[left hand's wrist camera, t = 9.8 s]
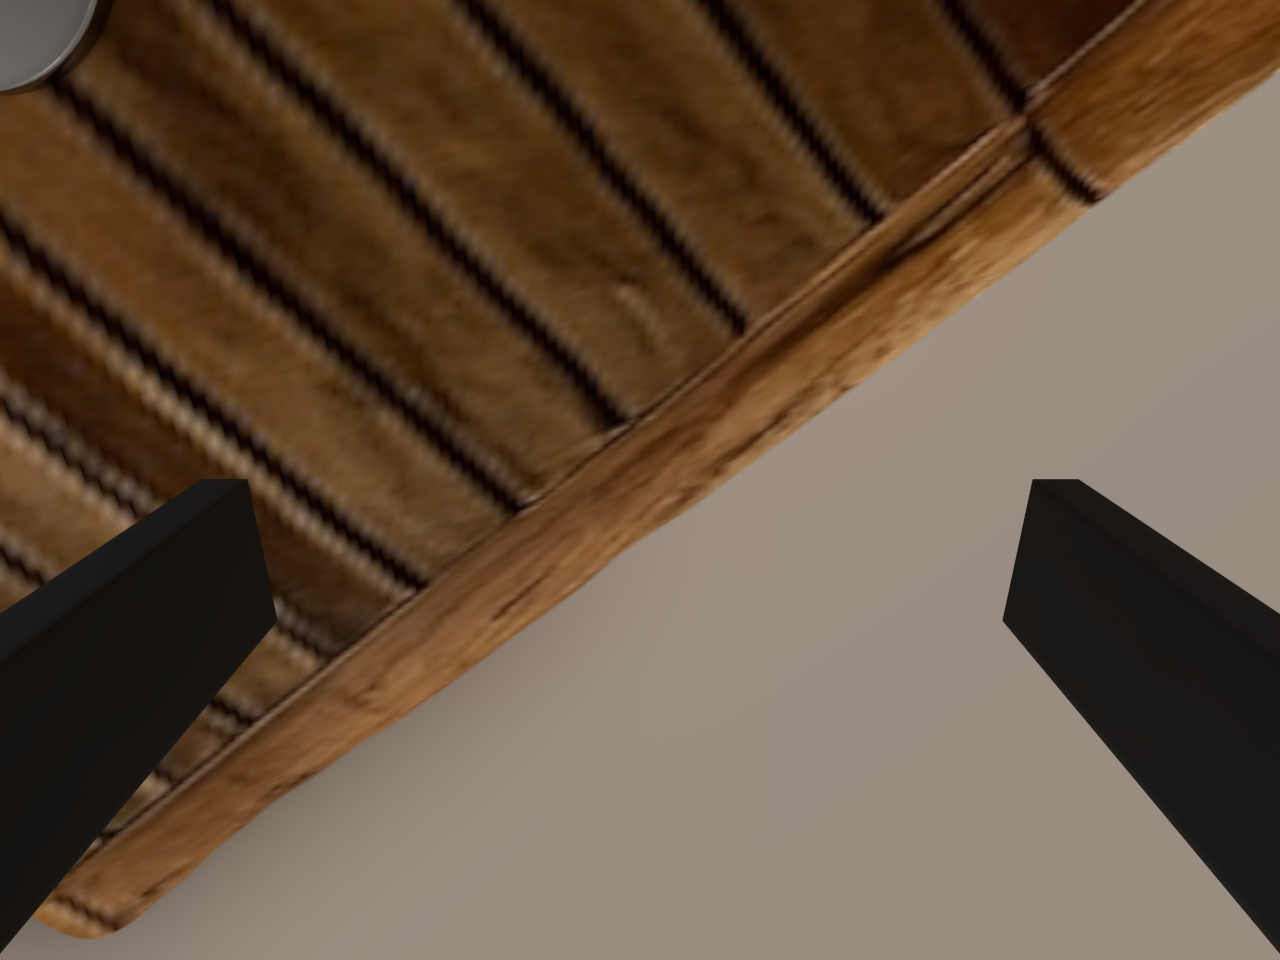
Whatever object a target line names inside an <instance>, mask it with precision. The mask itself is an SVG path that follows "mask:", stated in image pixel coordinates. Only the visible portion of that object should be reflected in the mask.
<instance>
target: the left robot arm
mask: <svg viewBox="0 0 1280 960" xmlns="http://www.w3.org/2000/svg"><path fill="white" fill-rule="evenodd" d="M112 3H113V0H0V96H4V95H16V94H22V93H28V92H31V91H34V90H38V89H41V88H43V87H45V86H48V85H50V84H52V83H54V82H56V81H58V80H59V79H61V78H62V77H64V76H66V75H67V74H68V73H69V72H71V71H72V70H73V69H74V68H75V67H77V66H78V65H79V64H80V63H81V61H82V60H83V59H84V58H85V57H86V56H87V55H88V54H89V52H90V51H91V49H92V48H93V47H94V45H95V44H96V42H97V40H98V38H99V37H100V35H101V33H102V31H103V29H104V26H105V24H106V22H107V19H108V17H109V14H110V10H111V7H112ZM276 622H277V616H276V611H275V607H274V602H273V597H272V593H271V588H270V583H269V579H268V574H267V569H266V565H265V560H264V555H263V551H262V546H261V541H260V537H259V532H258V527H257V522H256V518H255V513H254V508H253V504H252V499H251V494H250V490H249V485H248V480H247V479H201V480H200V481H198V482H197V483H195V484H194V485H192V486H191V487H189V488H188V489H186V490H185V491H183V492H182V493H180V494H179V495H177V496H176V497H174V498H173V499H171V500H170V501H168V502H167V503H165V504H164V505H162V506H161V507H159V508H158V509H156V510H155V511H153V512H152V513H150V514H149V515H147V516H146V517H144V518H143V519H141V520H140V521H138V522H137V523H135V524H134V525H132V526H131V527H129V528H128V529H126V530H125V531H123V532H122V533H120V534H119V535H118V536H116V537H115V538H113V539H112V540H110V541H109V542H107V543H106V544H104V545H103V546H101V547H100V548H98V549H97V550H95V551H94V552H92V553H91V554H89V555H88V556H86V557H85V558H83V559H82V560H80V561H79V562H77V563H76V564H74V565H73V566H71V567H70V568H68V569H67V570H65V571H64V572H62V573H61V574H59V575H58V576H56V577H55V578H53V579H52V580H50V581H49V582H47V583H46V584H44V585H43V586H41V587H40V588H38V589H37V590H35V591H34V592H32V593H31V594H29V595H28V596H26V597H25V598H23V599H22V600H20V601H19V602H17V603H16V604H14V605H13V606H11V607H10V608H8V609H7V610H5V611H4V612H2V613H1V614H0V953H1V952H2V951H3V950H4V948H5V947H6V946H7V945H8V944H9V942H10V941H11V940H12V939H13V938H14V936H15V935H16V934H17V933H18V931H19V930H20V929H21V928H22V927H23V925H24V924H25V923H26V922H27V921H28V920H29V918H30V917H31V916H32V915H33V914H34V912H35V911H36V910H37V909H38V908H39V906H40V905H41V904H42V903H43V902H44V900H45V899H46V898H47V897H48V896H49V894H50V893H51V892H52V891H53V890H54V888H55V887H56V886H57V885H58V884H59V882H60V881H61V880H62V879H63V878H64V876H65V875H66V874H67V873H68V872H69V870H70V869H71V868H72V867H73V866H74V864H75V863H76V862H77V861H78V860H79V858H80V857H81V856H82V855H83V854H84V852H85V851H86V850H87V849H88V848H89V846H90V845H91V844H92V843H93V842H94V840H95V839H96V838H97V837H98V836H99V834H100V833H101V832H102V831H103V830H104V828H105V827H106V826H107V825H108V824H109V822H110V821H111V820H112V819H113V818H114V816H115V815H116V814H117V813H118V812H119V810H120V809H121V808H122V807H123V806H124V804H125V803H126V802H127V801H128V800H129V798H130V797H131V796H132V795H133V794H134V792H135V791H136V790H137V789H138V788H139V786H140V785H141V784H142V783H143V782H144V780H145V779H146V778H147V777H148V776H149V774H150V773H151V772H152V771H153V770H154V768H155V767H156V766H157V765H158V764H159V762H160V761H161V760H162V759H163V758H164V756H165V755H166V754H167V753H168V752H169V750H170V749H171V748H172V747H173V746H174V744H175V743H176V742H177V741H178V740H179V738H180V737H181V736H182V735H183V734H184V732H185V731H186V730H187V729H188V728H189V726H190V725H191V724H192V723H193V722H194V720H195V719H196V718H197V717H198V716H199V714H200V713H201V712H202V711H203V710H204V708H205V707H206V706H207V705H208V704H209V702H210V701H211V700H212V699H213V698H214V696H215V695H216V694H217V693H218V692H219V690H220V689H221V688H222V687H223V686H224V684H225V683H226V682H227V681H228V680H229V678H230V677H231V676H232V675H233V674H234V672H235V671H236V670H237V669H238V668H239V666H240V665H241V664H242V663H243V662H244V660H245V659H246V658H247V657H248V656H249V654H250V653H251V652H252V651H253V650H254V648H255V647H256V646H257V645H258V644H259V642H260V641H261V640H262V639H263V638H264V636H265V635H266V634H267V633H268V632H269V630H270V629H271V628H272V627H273V626H274V624H275V623H276ZM1003 622H1004V623H1005V624H1006V625H1007V627H1008V628H1009V629H1010V630H1011V632H1012V633H1013V634H1014V635H1015V636H1016V638H1017V639H1018V640H1019V641H1020V642H1021V644H1022V645H1023V646H1024V647H1025V648H1026V650H1027V651H1028V652H1029V653H1030V654H1031V655H1032V657H1033V658H1034V659H1035V660H1036V662H1037V663H1038V664H1039V665H1040V666H1041V668H1042V669H1043V670H1044V671H1045V672H1046V674H1047V675H1048V676H1049V677H1050V678H1051V680H1052V681H1053V682H1054V683H1055V684H1056V686H1057V687H1058V688H1059V689H1060V690H1061V691H1062V693H1063V694H1064V695H1065V696H1066V698H1067V699H1068V700H1069V701H1070V702H1071V704H1072V705H1073V706H1074V707H1075V708H1076V710H1077V711H1078V712H1079V713H1080V714H1081V716H1082V717H1083V718H1084V719H1085V720H1086V722H1087V723H1088V724H1089V725H1090V726H1091V728H1092V729H1093V730H1094V731H1095V732H1096V734H1097V735H1098V736H1099V737H1100V738H1101V740H1102V741H1103V742H1104V743H1105V744H1106V746H1107V747H1108V748H1109V749H1110V750H1111V752H1112V753H1113V754H1114V755H1115V756H1116V758H1117V759H1118V760H1119V761H1120V762H1121V764H1122V765H1123V766H1124V767H1125V768H1126V770H1127V771H1128V772H1129V773H1130V774H1131V776H1132V777H1133V778H1134V779H1135V780H1136V782H1137V783H1138V784H1139V785H1140V786H1141V788H1142V789H1143V790H1144V791H1145V792H1146V794H1147V795H1148V796H1149V797H1150V798H1151V799H1152V801H1153V802H1154V803H1155V804H1156V806H1157V807H1158V808H1159V809H1160V810H1161V812H1162V813H1163V814H1164V815H1165V816H1166V818H1167V819H1168V820H1169V821H1170V822H1171V824H1172V825H1173V826H1174V827H1175V828H1176V830H1177V831H1178V832H1179V833H1180V834H1181V836H1182V837H1183V838H1184V839H1185V840H1186V842H1187V843H1188V844H1189V845H1190V846H1191V848H1192V849H1193V850H1194V851H1195V852H1196V854H1197V855H1198V856H1199V857H1200V858H1201V860H1202V861H1203V862H1204V863H1205V864H1206V866H1207V867H1208V868H1209V869H1210V870H1211V872H1212V873H1213V874H1214V875H1215V876H1216V878H1217V879H1218V880H1219V881H1220V882H1221V884H1222V885H1223V886H1224V887H1225V888H1226V890H1227V891H1228V892H1229V893H1230V894H1231V896H1232V897H1233V898H1234V899H1235V900H1236V902H1237V903H1238V904H1239V905H1240V906H1241V908H1242V909H1243V910H1244V911H1245V912H1246V914H1247V915H1248V916H1249V917H1250V918H1251V920H1252V921H1253V922H1254V923H1255V924H1256V925H1257V927H1258V928H1259V929H1260V930H1261V932H1262V933H1263V934H1264V935H1265V936H1266V938H1267V939H1268V940H1269V941H1270V942H1271V944H1272V945H1273V946H1274V947H1275V948H1276V950H1277V951H1278V952H1279V953H1280V614H1279V613H1278V612H1276V611H1275V610H1273V609H1272V608H1270V607H1269V606H1267V605H1266V604H1264V603H1263V602H1261V601H1260V600H1258V599H1257V598H1255V597H1254V596H1252V595H1251V594H1249V593H1248V592H1246V591H1245V590H1243V589H1242V588H1240V587H1239V586H1237V585H1236V584H1234V583H1233V582H1231V581H1230V580H1228V579H1227V578H1225V577H1224V576H1222V575H1221V574H1219V573H1218V572H1216V571H1215V570H1213V569H1212V568H1210V567H1209V566H1207V565H1206V564H1204V563H1203V562H1201V561H1200V560H1198V559H1197V558H1195V557H1194V556H1192V555H1191V554H1189V553H1188V552H1186V551H1185V550H1183V549H1182V548H1180V547H1179V546H1177V545H1176V544H1174V543H1173V542H1171V541H1170V540H1168V539H1167V538H1165V537H1164V536H1162V535H1161V534H1160V533H1158V532H1157V531H1155V530H1153V529H1152V528H1150V527H1149V526H1148V525H1146V524H1144V523H1143V522H1142V521H1140V520H1139V519H1137V518H1136V517H1134V516H1133V515H1131V514H1130V513H1128V512H1127V511H1125V510H1124V509H1122V508H1121V507H1119V506H1118V505H1116V504H1115V503H1113V502H1112V501H1110V500H1109V499H1107V498H1106V497H1104V496H1103V495H1101V494H1100V493H1098V492H1097V491H1095V490H1094V489H1092V488H1091V487H1089V486H1088V485H1086V484H1085V483H1083V482H1082V481H1080V480H1079V479H1033V481H1032V485H1031V490H1030V494H1029V499H1028V504H1027V508H1026V513H1025V518H1024V523H1023V527H1022V532H1021V537H1020V541H1019V546H1018V551H1017V555H1016V560H1015V565H1014V569H1013V574H1012V579H1011V583H1010V588H1009V593H1008V597H1007V602H1006V607H1005V612H1004V616H1003Z"/></svg>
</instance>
